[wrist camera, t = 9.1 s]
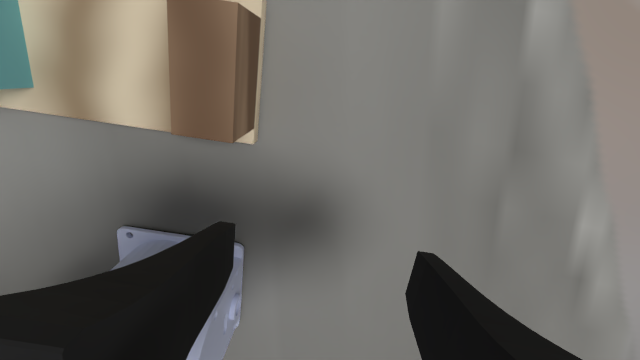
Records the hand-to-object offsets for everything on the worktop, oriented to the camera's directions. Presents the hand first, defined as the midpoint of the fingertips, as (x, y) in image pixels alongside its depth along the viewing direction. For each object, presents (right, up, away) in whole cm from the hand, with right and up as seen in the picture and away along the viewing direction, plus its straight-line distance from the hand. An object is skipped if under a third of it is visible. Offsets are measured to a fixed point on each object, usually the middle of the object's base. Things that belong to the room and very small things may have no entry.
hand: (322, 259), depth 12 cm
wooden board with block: (-13, +11, +7) cm, 19 cm away
